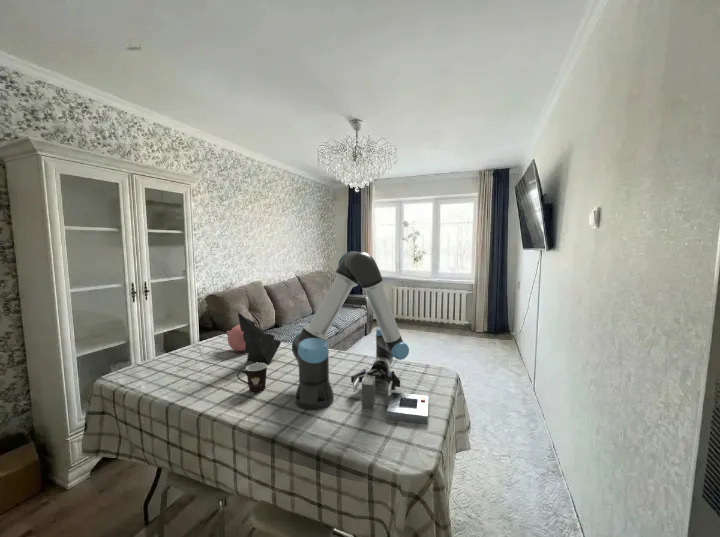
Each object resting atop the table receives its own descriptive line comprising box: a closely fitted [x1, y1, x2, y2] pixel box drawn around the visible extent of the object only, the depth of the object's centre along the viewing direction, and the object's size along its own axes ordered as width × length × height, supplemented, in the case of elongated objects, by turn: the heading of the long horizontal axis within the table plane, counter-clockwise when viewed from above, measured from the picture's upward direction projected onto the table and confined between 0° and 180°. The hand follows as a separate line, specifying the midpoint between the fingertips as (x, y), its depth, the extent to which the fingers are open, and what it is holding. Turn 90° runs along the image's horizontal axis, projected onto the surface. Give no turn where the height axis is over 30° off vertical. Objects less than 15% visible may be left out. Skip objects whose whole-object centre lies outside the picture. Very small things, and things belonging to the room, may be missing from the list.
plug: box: [361, 375, 376, 411], centre depth 116 cm, size 4×5×11 cm
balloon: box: [225, 324, 246, 352], centre depth 180 cm, size 15×20×15 cm
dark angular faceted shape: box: [237, 312, 282, 365], centre depth 157 cm, size 15×15×35 cm
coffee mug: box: [236, 362, 268, 393], centre depth 131 cm, size 12×9×10 cm
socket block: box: [386, 391, 429, 425], centre depth 112 cm, size 14×14×4 cm
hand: (371, 390), depth 117 cm, fingers open, 13 cm apart
